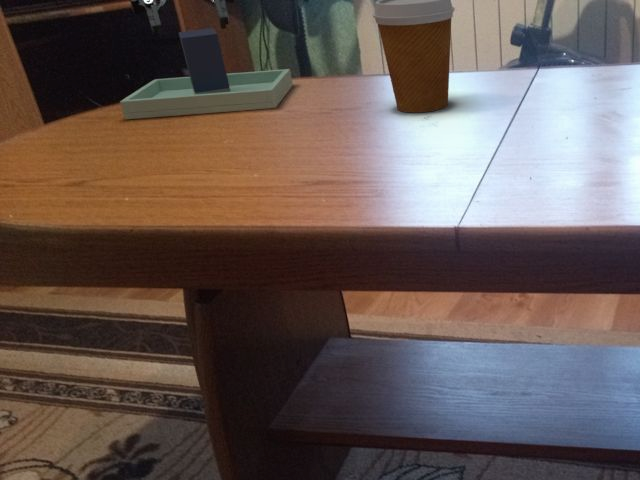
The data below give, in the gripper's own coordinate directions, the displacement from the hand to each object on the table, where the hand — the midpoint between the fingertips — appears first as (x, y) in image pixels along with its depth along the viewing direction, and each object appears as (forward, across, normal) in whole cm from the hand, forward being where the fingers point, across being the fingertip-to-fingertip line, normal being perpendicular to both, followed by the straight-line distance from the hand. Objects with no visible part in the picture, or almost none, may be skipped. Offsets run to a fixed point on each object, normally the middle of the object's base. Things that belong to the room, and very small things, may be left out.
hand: (192, 28), depth 103 cm
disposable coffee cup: (+27, -23, +15) cm, 38 cm away
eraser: (+11, 0, 0) cm, 11 cm away
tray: (+12, 0, 0) cm, 12 cm away
